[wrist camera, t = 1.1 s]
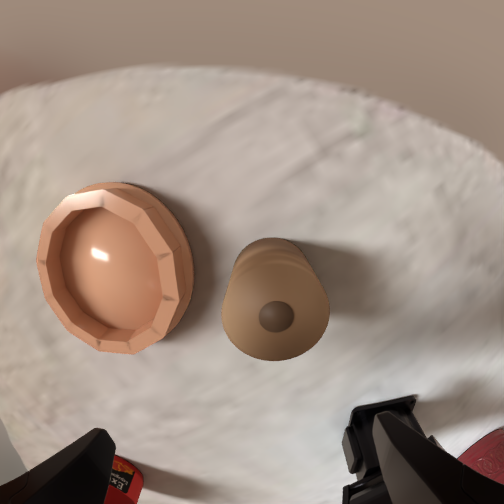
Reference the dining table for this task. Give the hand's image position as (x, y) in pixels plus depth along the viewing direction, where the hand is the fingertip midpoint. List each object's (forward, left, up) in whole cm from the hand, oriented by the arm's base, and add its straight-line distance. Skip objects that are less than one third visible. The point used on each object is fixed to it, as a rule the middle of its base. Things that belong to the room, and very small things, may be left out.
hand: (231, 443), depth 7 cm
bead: (-2, -1, -12) cm, 12 cm away
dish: (+9, -2, -12) cm, 16 cm away
